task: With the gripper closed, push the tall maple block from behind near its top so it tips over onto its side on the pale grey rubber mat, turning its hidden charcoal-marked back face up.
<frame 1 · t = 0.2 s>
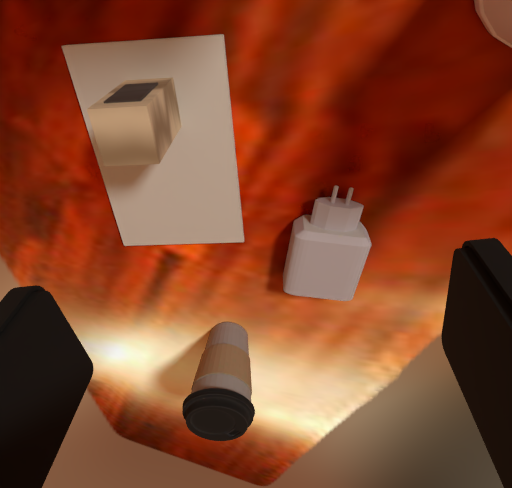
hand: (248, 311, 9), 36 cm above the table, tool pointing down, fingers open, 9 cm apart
coffee cup: (228, 333, 63), on the table
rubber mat: (166, 155, 46), on the table
maple block: (154, 103, 42), point 1 cm above the table, touching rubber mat
charger: (327, 229, 51), on the table
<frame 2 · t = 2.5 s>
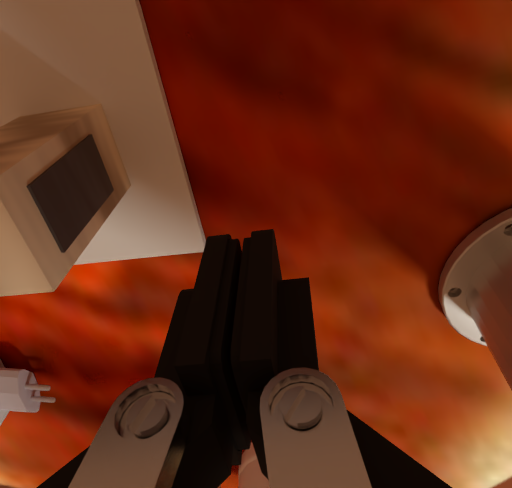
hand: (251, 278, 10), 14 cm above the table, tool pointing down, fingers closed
maple block: (77, 152, 24), point 1 cm above the table, touching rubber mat
bottle: (303, 459, 43), on the table
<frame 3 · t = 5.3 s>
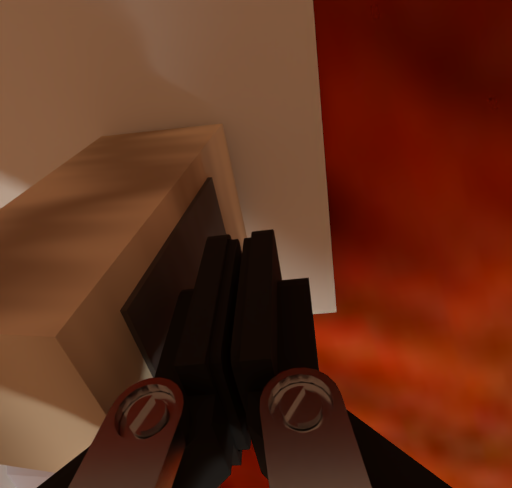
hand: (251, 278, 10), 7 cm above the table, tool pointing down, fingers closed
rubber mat: (55, 196, 18), on the table
maple block: (177, 189, 16), point 1 cm above the table, tilted 8°, touching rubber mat
charger: (11, 430, 30), on the table
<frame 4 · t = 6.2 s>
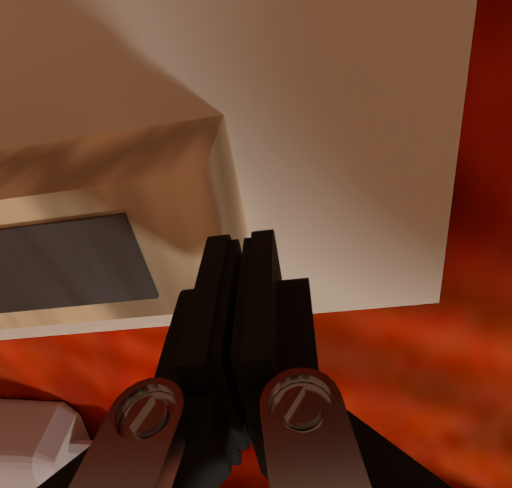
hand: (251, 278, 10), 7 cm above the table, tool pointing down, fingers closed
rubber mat: (158, 181, 17), on the table
maple block: (230, 207, 14), point 3 cm above the table, tilted 90°, touching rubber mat
charger: (64, 428, 30), on the table
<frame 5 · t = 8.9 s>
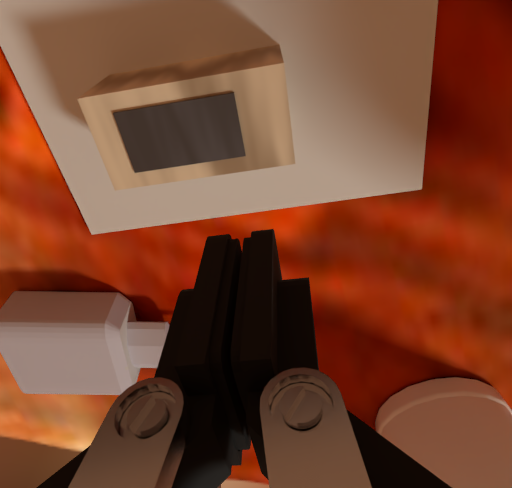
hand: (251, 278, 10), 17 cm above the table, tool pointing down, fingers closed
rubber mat: (227, 97, 24), on the table
maple block: (287, 102, 22), point 3 cm above the table, tilted 90°, touching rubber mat
bottle: (436, 411, 44), on the table
charger: (116, 323, 37), on the table
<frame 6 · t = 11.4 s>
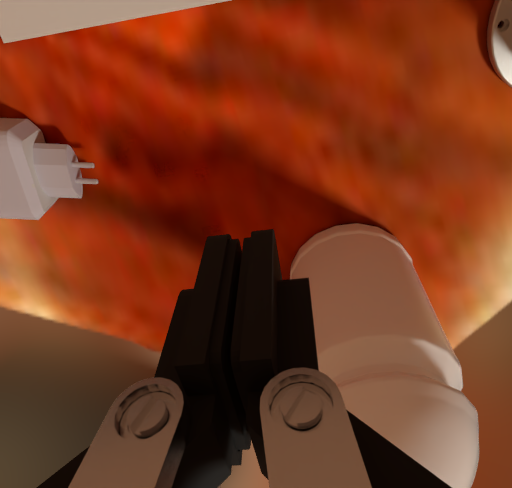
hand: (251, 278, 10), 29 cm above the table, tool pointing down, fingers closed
bottle: (347, 269, 47), on the table
charger: (33, 159, 41), on the table
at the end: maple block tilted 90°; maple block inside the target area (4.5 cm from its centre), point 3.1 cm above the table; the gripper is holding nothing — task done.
